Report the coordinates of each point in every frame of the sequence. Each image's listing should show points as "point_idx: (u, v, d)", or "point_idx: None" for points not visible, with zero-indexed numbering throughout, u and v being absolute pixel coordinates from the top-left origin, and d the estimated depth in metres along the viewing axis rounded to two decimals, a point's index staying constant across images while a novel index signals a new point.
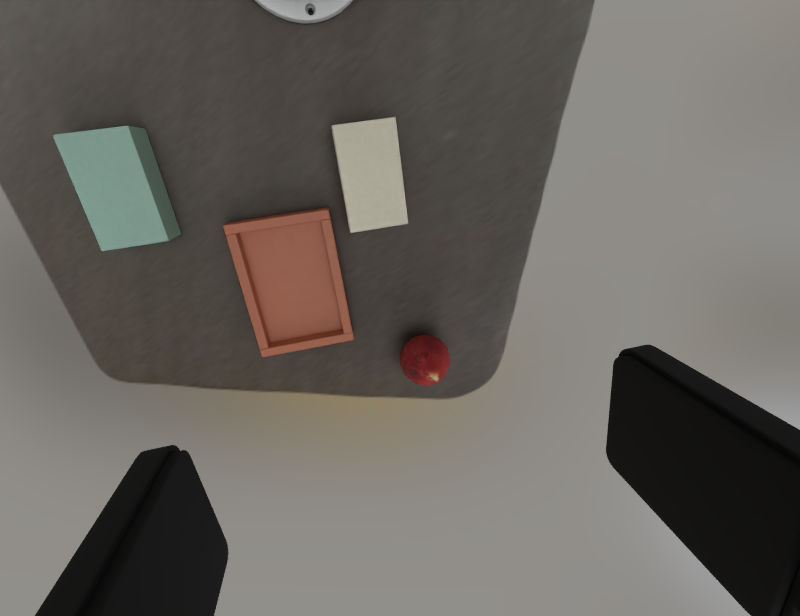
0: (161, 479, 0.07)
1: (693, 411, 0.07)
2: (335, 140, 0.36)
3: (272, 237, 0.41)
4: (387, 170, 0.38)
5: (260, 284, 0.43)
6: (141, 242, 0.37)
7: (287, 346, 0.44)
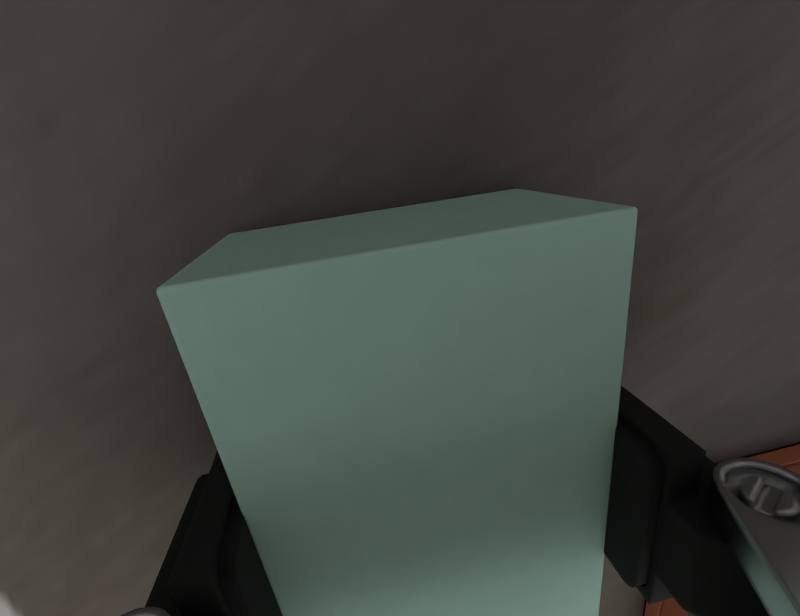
0: None
1: None
2: None
3: None
4: None
5: None
6: None
7: None
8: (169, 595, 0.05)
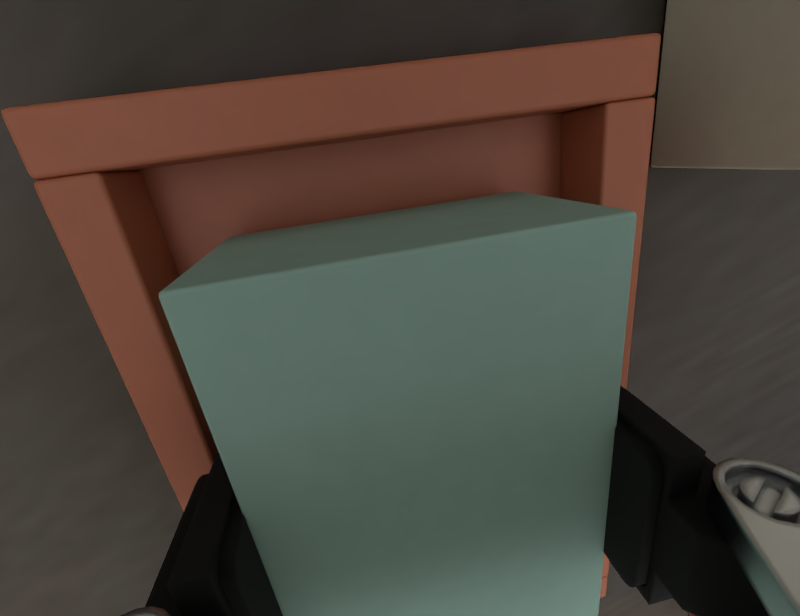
0: None
1: None
2: None
3: (320, 206, 0.08)
4: None
5: None
6: None
7: None
8: (169, 595, 0.05)
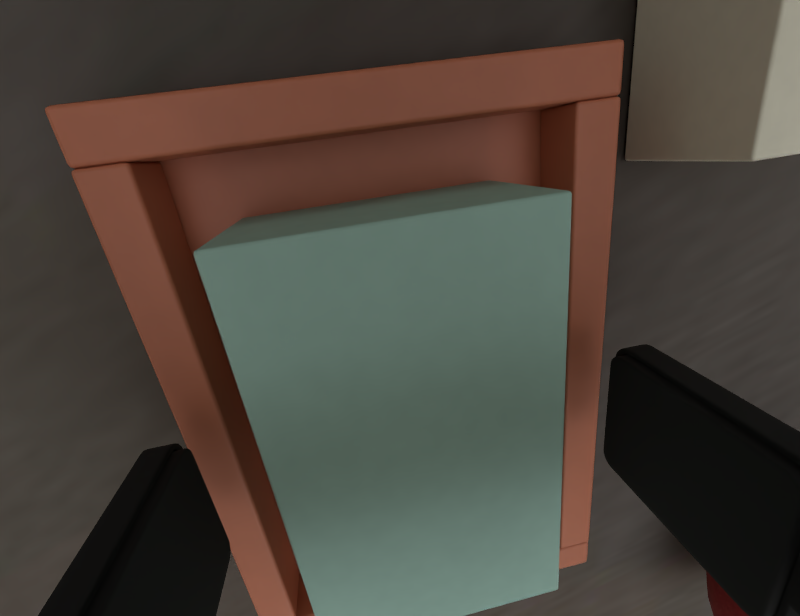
0: (164, 477, 0.07)
1: (689, 410, 0.07)
2: None
3: (321, 195, 0.09)
4: None
5: None
6: (470, 609, 0.10)
7: None
8: None
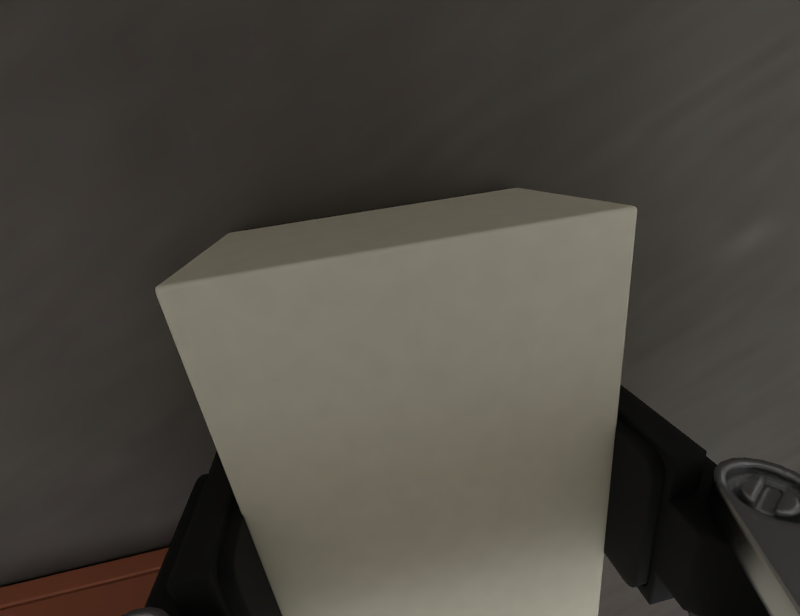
0: None
1: None
2: (199, 385, 0.05)
3: None
4: (535, 496, 0.07)
5: None
6: None
7: None
8: (168, 595, 0.05)
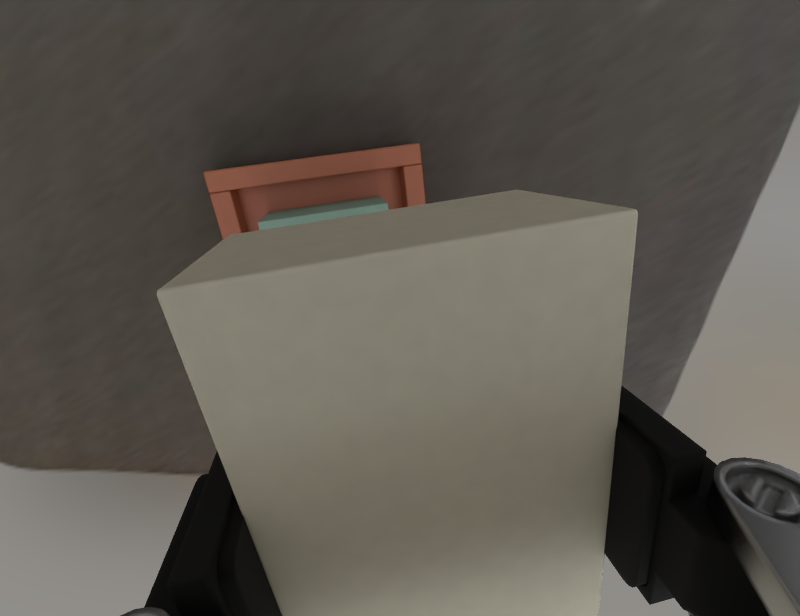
0: None
1: None
2: (200, 388, 0.05)
3: (302, 202, 0.21)
4: (536, 499, 0.07)
5: None
6: None
7: None
8: (168, 595, 0.05)
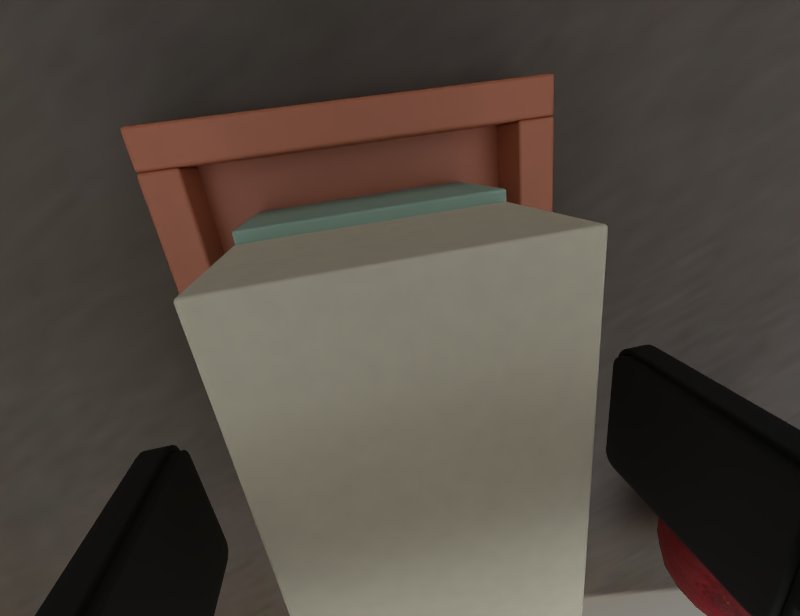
0: (161, 479, 0.07)
1: (693, 411, 0.07)
2: (211, 386, 0.05)
3: (322, 193, 0.11)
4: (520, 490, 0.07)
5: None
6: None
7: None
8: None
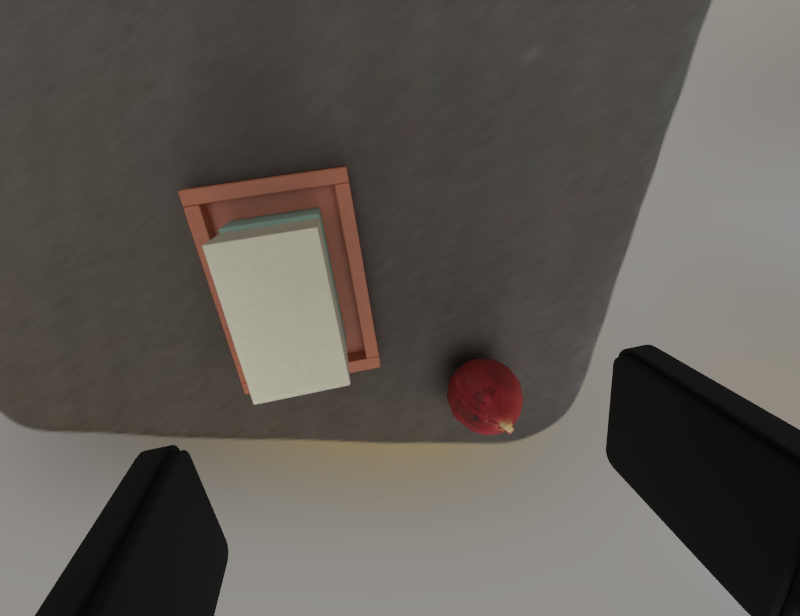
0: (161, 479, 0.07)
1: (693, 411, 0.07)
2: (211, 269, 0.21)
3: (258, 212, 0.27)
4: (309, 311, 0.22)
5: None
6: None
7: None
8: None
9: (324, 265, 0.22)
